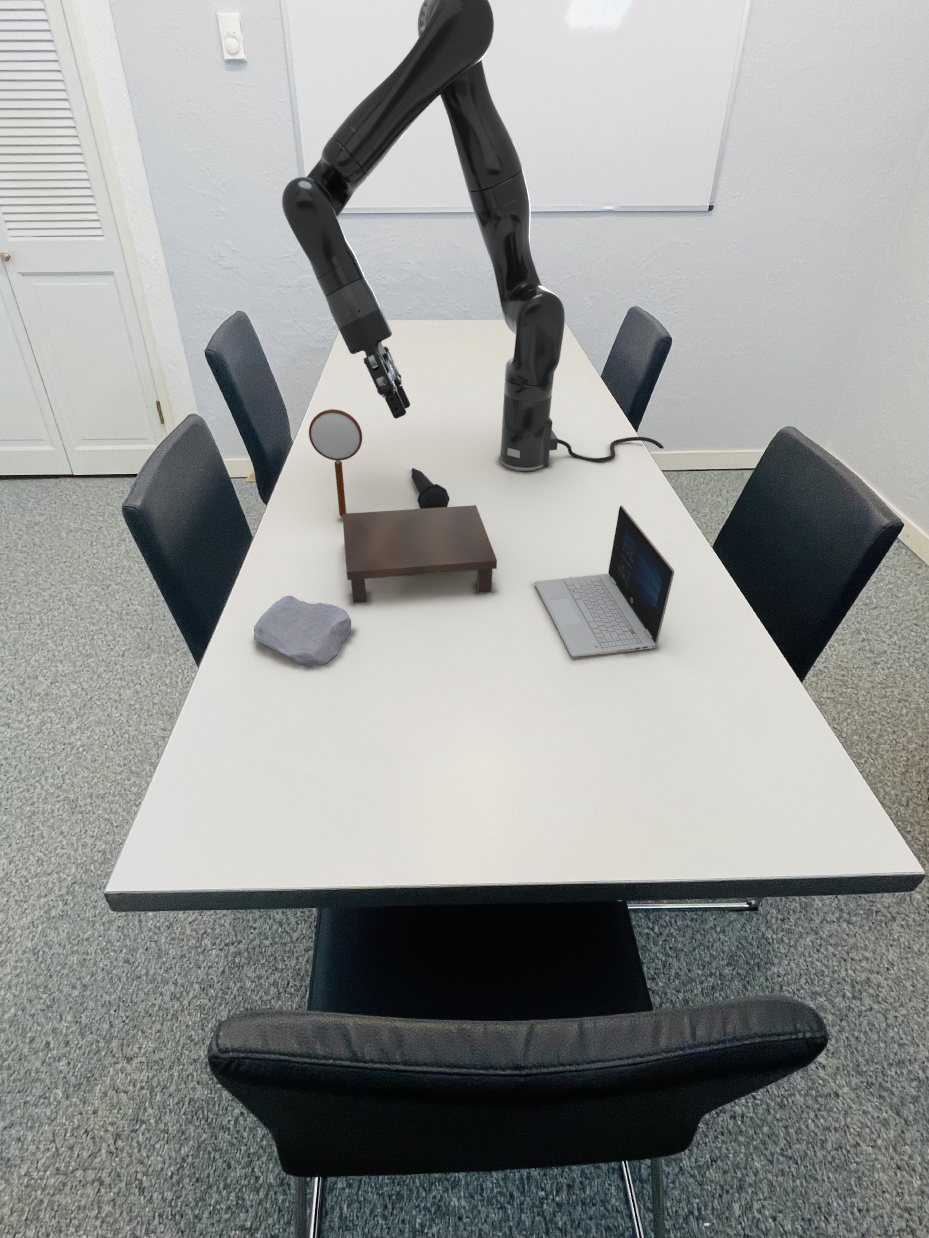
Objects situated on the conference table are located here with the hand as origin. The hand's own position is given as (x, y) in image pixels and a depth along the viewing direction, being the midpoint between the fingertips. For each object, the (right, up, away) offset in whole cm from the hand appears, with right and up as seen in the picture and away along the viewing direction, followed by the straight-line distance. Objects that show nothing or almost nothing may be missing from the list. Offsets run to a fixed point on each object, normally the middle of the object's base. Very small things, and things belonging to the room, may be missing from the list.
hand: (403, 412), depth 119 cm
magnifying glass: (-11, -17, +6) cm, 21 cm away
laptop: (+29, -34, -15) cm, 47 cm away
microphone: (+4, -12, +14) cm, 18 cm away
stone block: (-12, -38, -21) cm, 45 cm away
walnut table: (+3, -27, -6) cm, 27 cm away
